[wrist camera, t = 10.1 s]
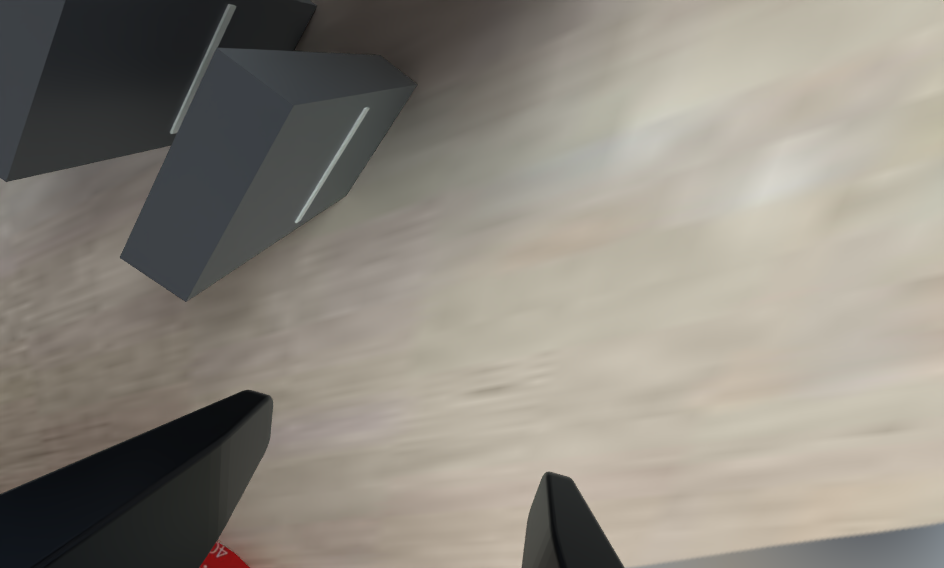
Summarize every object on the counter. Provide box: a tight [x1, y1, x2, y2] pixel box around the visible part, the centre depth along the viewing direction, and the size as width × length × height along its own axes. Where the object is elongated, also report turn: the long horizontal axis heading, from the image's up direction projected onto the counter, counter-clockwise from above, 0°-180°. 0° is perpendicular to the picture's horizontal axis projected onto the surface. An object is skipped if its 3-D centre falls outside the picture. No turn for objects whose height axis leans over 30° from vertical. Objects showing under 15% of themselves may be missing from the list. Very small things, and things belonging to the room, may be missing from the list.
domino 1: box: [0, 0, 317, 182], centre depth 14 cm, size 2×5×10 cm, turn 143°
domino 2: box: [120, 48, 417, 302], centre depth 15 cm, size 2×5×10 cm, turn 144°
